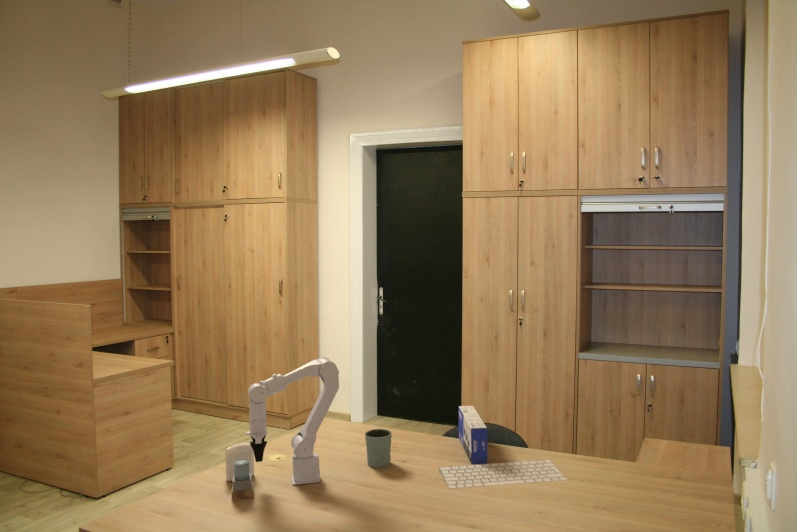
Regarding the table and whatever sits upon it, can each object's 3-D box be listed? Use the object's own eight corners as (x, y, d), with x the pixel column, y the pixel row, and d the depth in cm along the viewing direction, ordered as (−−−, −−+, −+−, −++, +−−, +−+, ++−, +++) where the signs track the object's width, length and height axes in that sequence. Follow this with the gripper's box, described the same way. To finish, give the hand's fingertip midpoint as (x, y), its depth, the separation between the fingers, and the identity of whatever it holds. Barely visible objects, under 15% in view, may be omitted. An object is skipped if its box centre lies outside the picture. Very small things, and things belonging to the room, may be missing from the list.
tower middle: (251, 482, 216) (251, 473, 216) (251, 489, 210) (250, 480, 210) (233, 484, 215) (233, 475, 215) (232, 491, 209) (232, 481, 209)
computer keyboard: (447, 490, 214) (447, 485, 214) (438, 470, 233) (438, 465, 233) (569, 483, 219) (569, 478, 218) (551, 463, 237) (551, 459, 237)
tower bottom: (253, 490, 217) (253, 481, 217) (253, 499, 211) (253, 489, 210) (232, 493, 216) (232, 483, 216) (231, 501, 209) (231, 492, 209)
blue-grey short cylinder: (249, 473, 216) (248, 459, 215) (249, 479, 211) (249, 465, 210) (234, 475, 214) (233, 461, 214) (234, 481, 210) (233, 466, 209)
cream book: (251, 472, 233) (250, 439, 233) (256, 476, 230) (255, 442, 229) (224, 479, 228) (223, 445, 227) (228, 482, 224) (227, 448, 224)
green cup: (387, 457, 246) (386, 427, 245) (396, 466, 236) (395, 434, 236) (362, 461, 242) (361, 430, 241) (370, 470, 233) (369, 438, 232)
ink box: (458, 439, 267) (457, 405, 266) (474, 438, 267) (473, 405, 266) (470, 465, 236) (469, 427, 236) (488, 464, 237) (487, 426, 236)
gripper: (246, 414, 225) (247, 451, 225) (245, 425, 210) (246, 466, 211) (266, 412, 226) (267, 449, 227) (267, 424, 212) (268, 464, 213)
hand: (258, 457), depth 219 cm, fingers open, 7 cm apart
